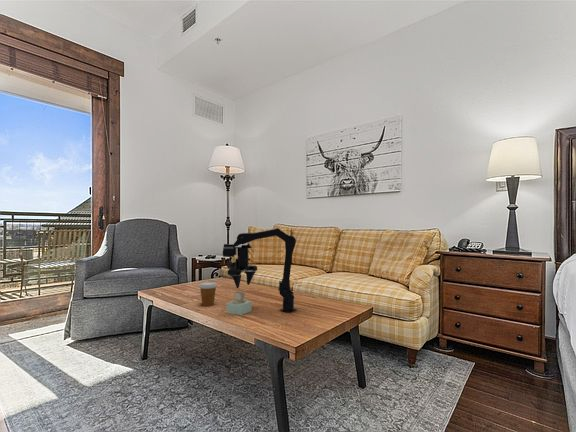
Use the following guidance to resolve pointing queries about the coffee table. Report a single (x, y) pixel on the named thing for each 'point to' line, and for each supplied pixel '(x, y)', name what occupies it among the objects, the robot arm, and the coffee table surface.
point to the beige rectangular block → (239, 297)
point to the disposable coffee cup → (208, 293)
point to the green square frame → (239, 307)
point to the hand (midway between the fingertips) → (243, 286)
